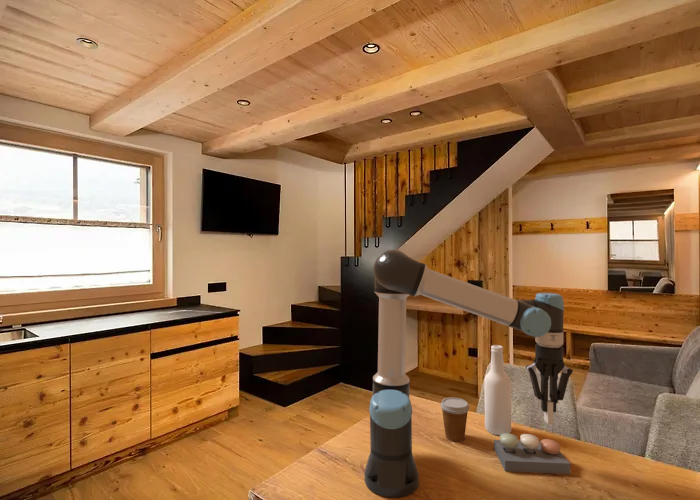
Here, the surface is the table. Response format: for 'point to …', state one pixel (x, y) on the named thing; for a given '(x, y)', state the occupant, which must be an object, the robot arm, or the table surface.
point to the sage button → (509, 442)
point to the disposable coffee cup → (454, 418)
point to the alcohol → (497, 395)
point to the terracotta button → (550, 446)
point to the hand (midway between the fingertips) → (548, 422)
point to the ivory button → (529, 442)
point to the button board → (531, 460)
